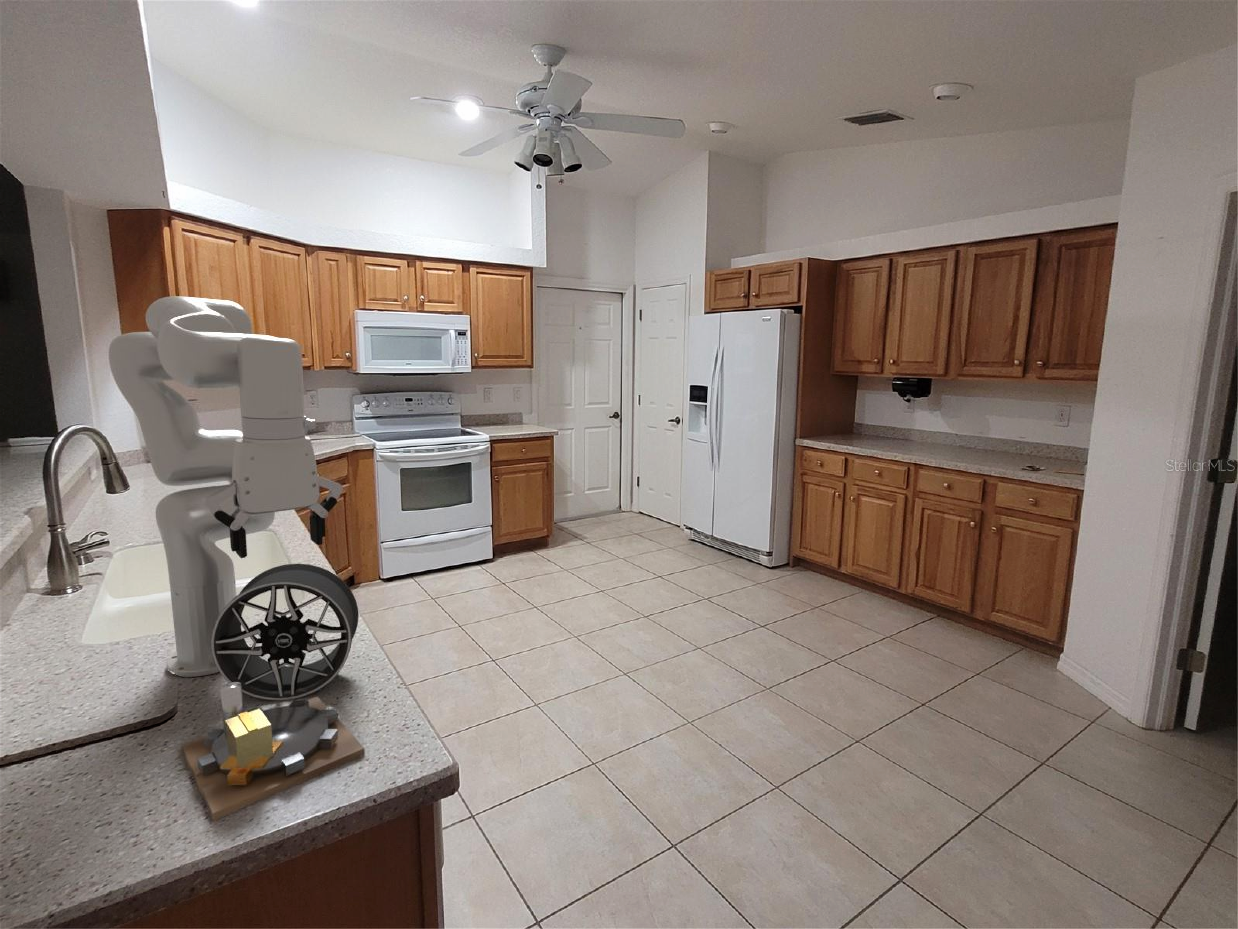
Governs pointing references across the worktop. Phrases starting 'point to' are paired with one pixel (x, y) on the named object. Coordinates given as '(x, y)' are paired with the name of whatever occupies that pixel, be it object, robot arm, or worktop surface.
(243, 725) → the tan block with orange
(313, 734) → the sprocket
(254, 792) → the sprocket base
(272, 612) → the wheel rim
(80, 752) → the worktop surface
